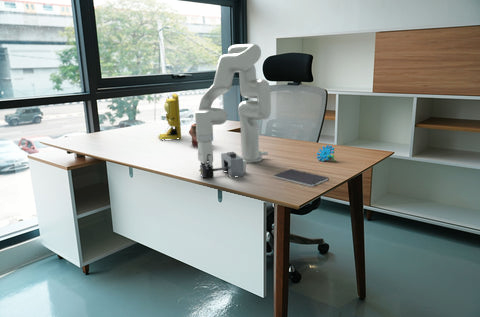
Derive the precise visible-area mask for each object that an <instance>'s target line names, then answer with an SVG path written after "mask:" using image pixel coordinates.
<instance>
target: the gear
mask: <svg viewBox="0 0 480 317" xmlns="http://www.w3.org/2000/svg"><path fill="white" fill-rule="evenodd" d="M321 148H322V149H321ZM321 148H320V149H318V151H319V152H317V153H316V155H317V156H316V159H317V160H319V162H321V161H322V162H325V161H329V160H333V162H336V159H335V155H334V154H335V148H334V147H333V146H332V145H331V144H330V145H329V144H326V146H324V145H323V146H322V147H321Z"/></svg>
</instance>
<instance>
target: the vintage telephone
mask: <svg viewBox="0 0 480 317" xmlns="http://www.w3.org/2000/svg"><path fill="white" fill-rule="evenodd" d="M171 96H172V98H170V97H169V96H168V97H167V98H166V99H165V103H164V106H163V107H164V111H165V113H166V114H165V120H166V121H167V124H168V125H169V126H168V127H170V128H169V129H167V130H166V132H165V133H160V134H159V135H158V136H159V137H160V138H159V137H158V138H159V140H160V139H175V140H180V139H181V140H182V132H181V131H182V130H181V127H182V126H181V115H180V102H179V101H180V100H179V95H178V94H176V93H173V94H172V95H171ZM177 138H179V139H177Z"/></svg>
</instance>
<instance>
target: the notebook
mask: <svg viewBox="0 0 480 317" xmlns="http://www.w3.org/2000/svg"><path fill="white" fill-rule="evenodd" d="M273 177H274V178H276V179H278V180H283V181H287V182H291V183H295V184H300V185H304V186H306V187H315V186H316V185H319V184H321V183H323V182H326V181H329V180H330V178H329V177H328V176H324V175H319V174H314V173H310V172H306V171H302V170H297V169H296V170H295V169H291V168H290V169H287V170H283V171H282V172H278V173H276V174H274V175H273Z"/></svg>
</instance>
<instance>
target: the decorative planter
mask: <svg viewBox="0 0 480 317" xmlns="http://www.w3.org/2000/svg"><path fill="white" fill-rule="evenodd" d="M188 134H189V135H190V136H191V145H192V146H193V145H194V146H193V147H195V146H198V142H197V135H196V122H195V123H192V124H191V126H190V129H189V130H188Z"/></svg>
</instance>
